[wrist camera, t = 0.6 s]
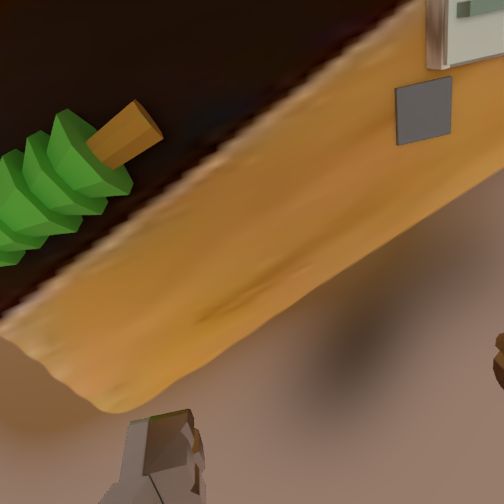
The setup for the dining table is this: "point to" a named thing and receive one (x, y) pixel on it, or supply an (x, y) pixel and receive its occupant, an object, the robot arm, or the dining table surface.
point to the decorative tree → (67, 176)
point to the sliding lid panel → (473, 29)
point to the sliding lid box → (440, 37)
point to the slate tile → (423, 110)
